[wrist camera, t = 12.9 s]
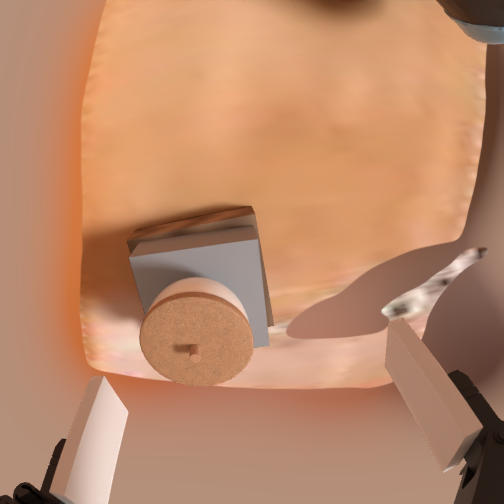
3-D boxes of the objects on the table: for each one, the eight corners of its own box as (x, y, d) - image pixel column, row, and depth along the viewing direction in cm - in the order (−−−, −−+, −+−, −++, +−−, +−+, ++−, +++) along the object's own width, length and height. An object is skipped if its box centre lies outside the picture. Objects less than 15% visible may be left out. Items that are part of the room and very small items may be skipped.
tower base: (251, 204, 41) (255, 214, 37) (269, 307, 47) (274, 325, 43) (136, 229, 41) (126, 240, 36) (167, 325, 47) (163, 344, 42)
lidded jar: (256, 270, 34) (268, 317, 25) (237, 347, 37) (242, 403, 29) (157, 253, 32) (136, 296, 23) (150, 334, 36) (135, 388, 27)
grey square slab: (253, 225, 37) (257, 239, 33) (264, 323, 42) (269, 345, 38) (139, 242, 37) (128, 257, 32) (165, 335, 42) (160, 358, 37)
